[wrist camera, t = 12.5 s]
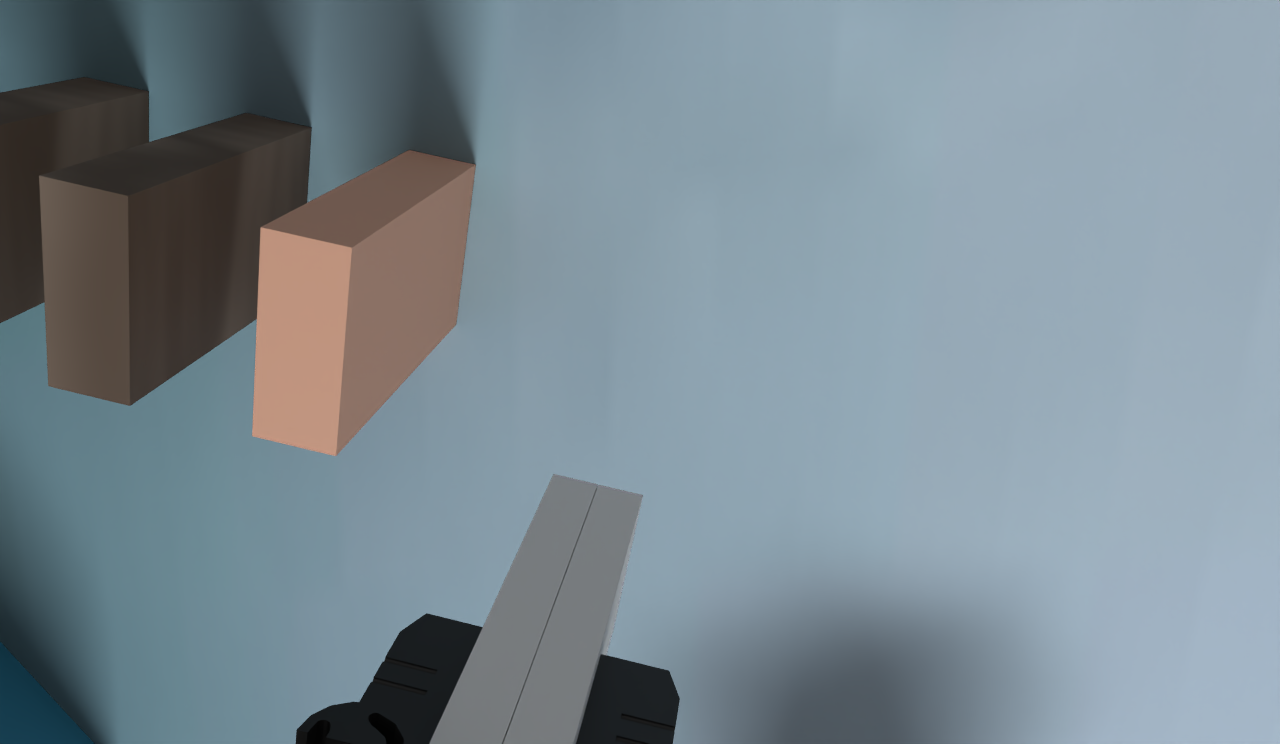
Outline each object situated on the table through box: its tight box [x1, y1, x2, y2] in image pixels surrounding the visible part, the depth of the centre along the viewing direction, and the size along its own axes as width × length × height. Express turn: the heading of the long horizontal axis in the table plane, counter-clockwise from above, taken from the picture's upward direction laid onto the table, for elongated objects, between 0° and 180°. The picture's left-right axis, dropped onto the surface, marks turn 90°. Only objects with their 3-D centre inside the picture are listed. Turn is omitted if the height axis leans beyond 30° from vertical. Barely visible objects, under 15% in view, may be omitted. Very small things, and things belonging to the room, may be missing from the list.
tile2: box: [39, 113, 312, 406], centre depth 27 cm, size 2×5×9 cm, turn 169°
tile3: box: [0, 77, 149, 323], centre depth 28 cm, size 2×5×9 cm, turn 169°
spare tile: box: [252, 150, 476, 456], centre depth 27 cm, size 2×5×9 cm, turn 170°
